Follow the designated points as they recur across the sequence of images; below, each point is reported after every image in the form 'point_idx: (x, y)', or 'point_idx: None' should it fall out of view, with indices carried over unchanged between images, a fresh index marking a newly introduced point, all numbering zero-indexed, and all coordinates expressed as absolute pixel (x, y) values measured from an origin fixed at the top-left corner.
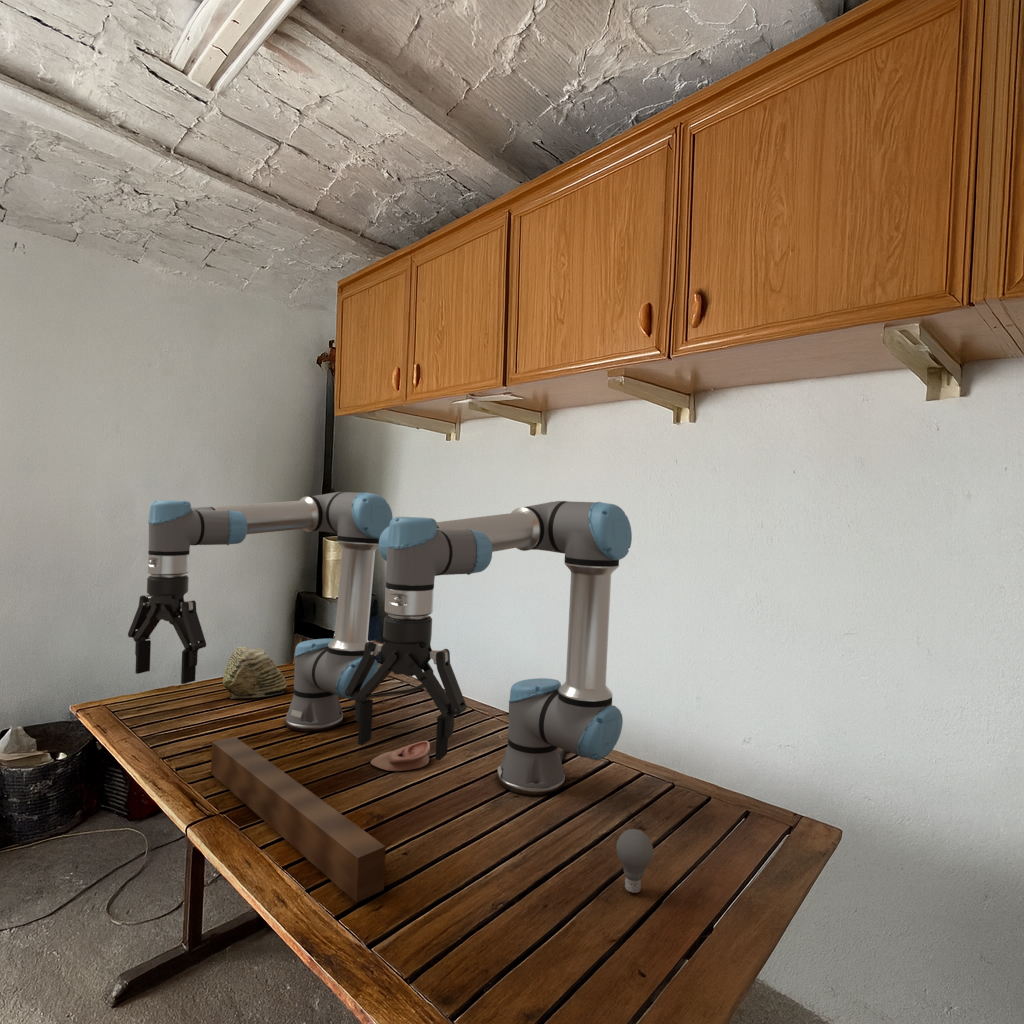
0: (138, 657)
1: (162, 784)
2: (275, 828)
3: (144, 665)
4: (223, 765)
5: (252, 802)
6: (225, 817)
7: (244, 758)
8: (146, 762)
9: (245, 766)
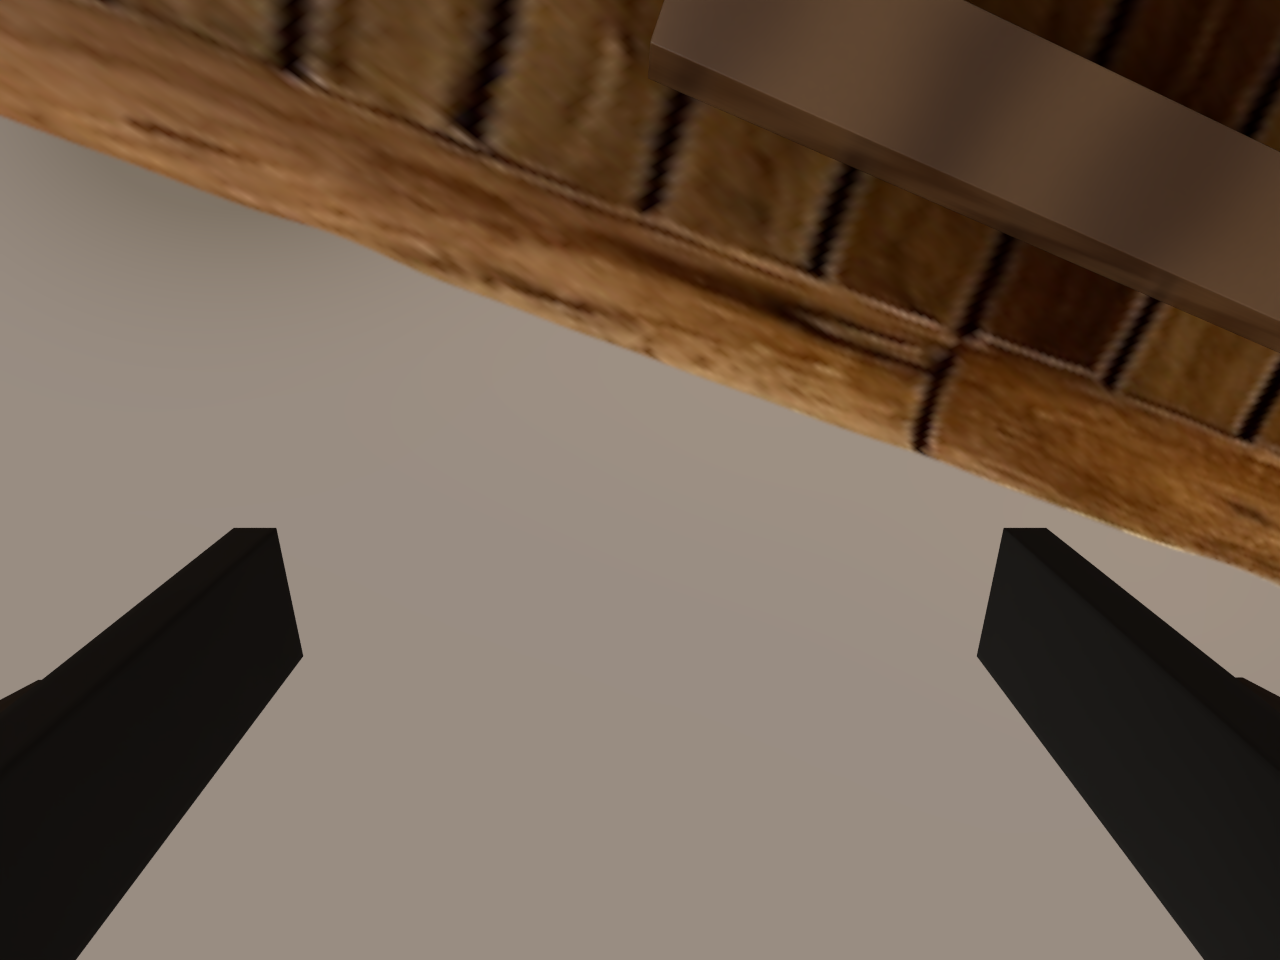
0: (194, 796)
1: (558, 276)
2: (1248, 337)
3: (248, 636)
4: (806, 128)
5: (1085, 262)
6: (1001, 350)
7: (1003, 138)
8: (276, 149)
9: (1074, 219)
